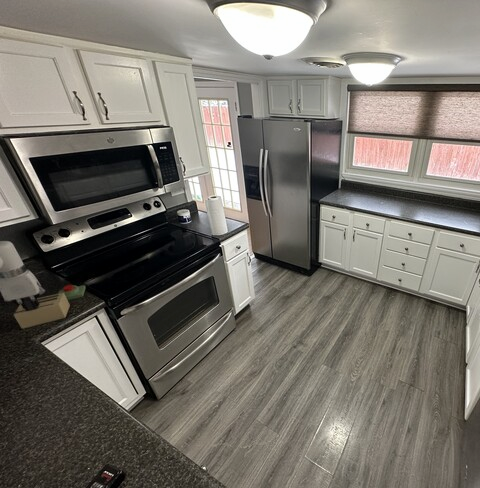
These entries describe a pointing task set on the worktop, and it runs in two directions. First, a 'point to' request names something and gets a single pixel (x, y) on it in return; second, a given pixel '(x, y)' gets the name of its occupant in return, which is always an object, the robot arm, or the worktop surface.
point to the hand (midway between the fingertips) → (32, 308)
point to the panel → (74, 292)
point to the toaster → (43, 311)
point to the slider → (28, 304)
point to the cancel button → (68, 288)
